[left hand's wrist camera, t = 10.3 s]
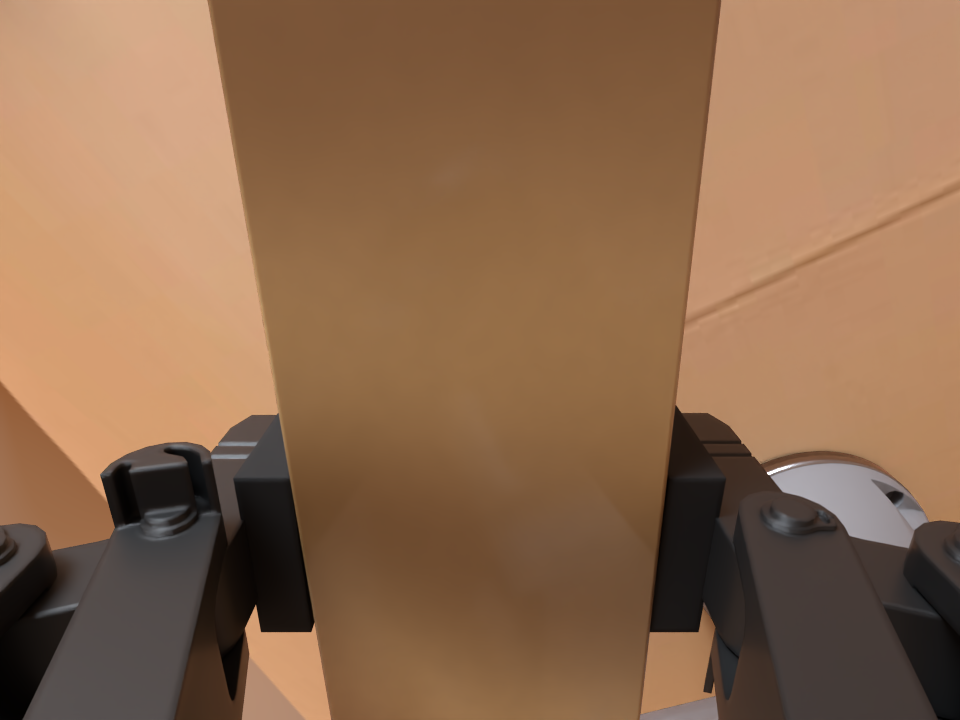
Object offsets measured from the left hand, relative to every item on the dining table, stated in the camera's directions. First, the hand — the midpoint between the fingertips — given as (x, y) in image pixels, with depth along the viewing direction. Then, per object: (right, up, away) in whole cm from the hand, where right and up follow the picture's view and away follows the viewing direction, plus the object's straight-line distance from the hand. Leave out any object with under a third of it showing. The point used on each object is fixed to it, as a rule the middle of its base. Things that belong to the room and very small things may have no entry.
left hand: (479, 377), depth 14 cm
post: (0, +19, -7) cm, 20 cm away
